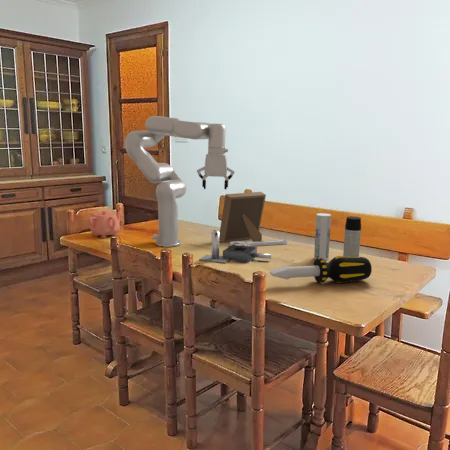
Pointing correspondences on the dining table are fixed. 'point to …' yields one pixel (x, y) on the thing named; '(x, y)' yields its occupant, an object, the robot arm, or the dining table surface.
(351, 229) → the spray can
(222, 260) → the mat
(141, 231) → the dining table surface
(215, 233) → the key
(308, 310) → the dining table surface
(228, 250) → the block
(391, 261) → the dining table surface
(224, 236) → the photo frame
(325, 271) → the screwdriver
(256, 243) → the wrench
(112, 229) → the teapot
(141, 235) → the dining table surface
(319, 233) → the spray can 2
